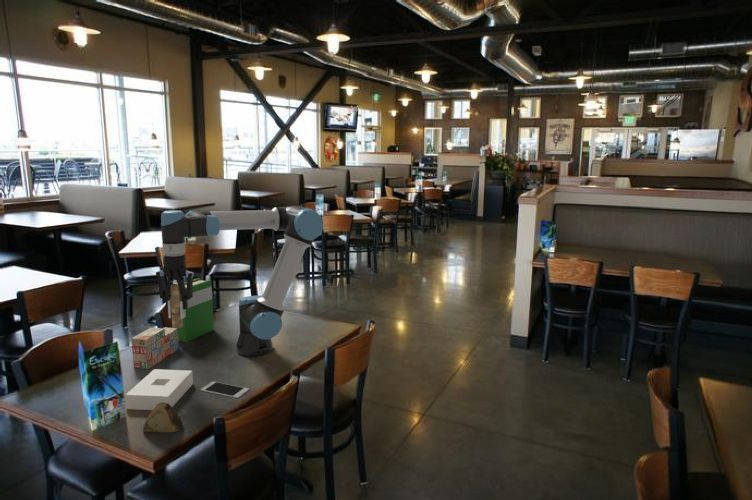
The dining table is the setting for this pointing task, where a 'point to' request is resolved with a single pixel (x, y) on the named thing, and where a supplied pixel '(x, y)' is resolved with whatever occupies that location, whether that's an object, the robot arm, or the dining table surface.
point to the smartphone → (225, 389)
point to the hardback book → (198, 312)
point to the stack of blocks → (154, 346)
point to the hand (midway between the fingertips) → (177, 317)
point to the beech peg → (176, 306)
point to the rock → (163, 419)
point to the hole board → (159, 389)
